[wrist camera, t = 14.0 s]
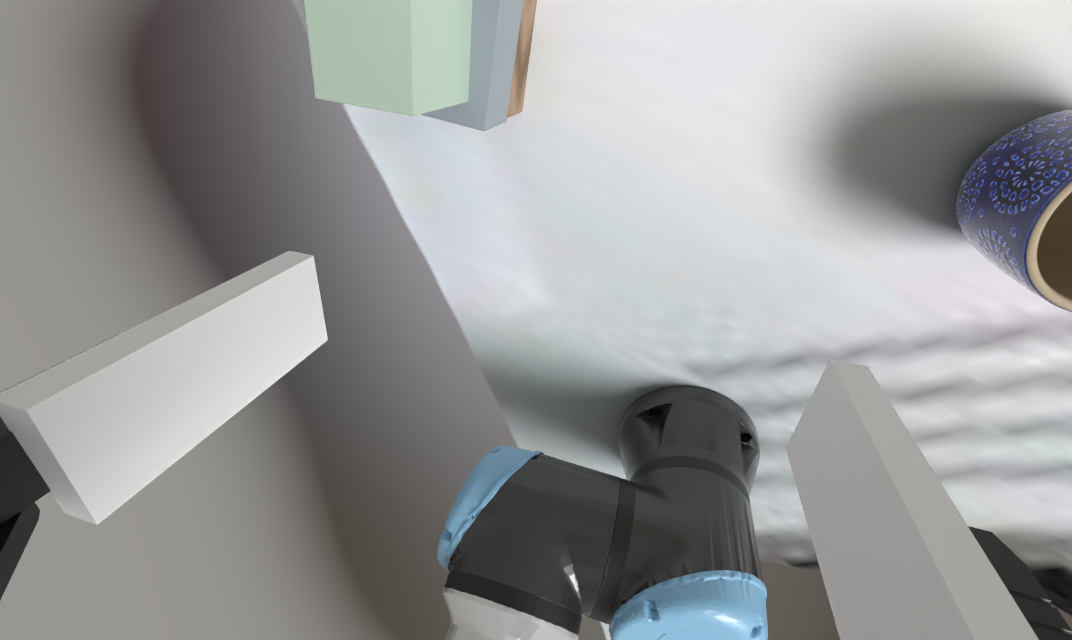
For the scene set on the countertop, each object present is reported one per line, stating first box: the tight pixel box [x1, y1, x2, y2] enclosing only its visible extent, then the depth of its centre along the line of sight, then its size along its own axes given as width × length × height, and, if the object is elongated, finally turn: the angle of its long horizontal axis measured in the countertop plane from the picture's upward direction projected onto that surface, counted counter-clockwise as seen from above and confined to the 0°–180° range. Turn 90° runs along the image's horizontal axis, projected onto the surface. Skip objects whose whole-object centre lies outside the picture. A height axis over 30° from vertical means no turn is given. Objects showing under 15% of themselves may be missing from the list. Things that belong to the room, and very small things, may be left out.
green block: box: [304, 0, 472, 116], centre depth 27 cm, size 6×6×8 cm
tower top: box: [421, 0, 524, 131], centre depth 33 cm, size 9×9×5 cm
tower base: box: [507, 0, 537, 118], centre depth 37 cm, size 9×9×5 cm
